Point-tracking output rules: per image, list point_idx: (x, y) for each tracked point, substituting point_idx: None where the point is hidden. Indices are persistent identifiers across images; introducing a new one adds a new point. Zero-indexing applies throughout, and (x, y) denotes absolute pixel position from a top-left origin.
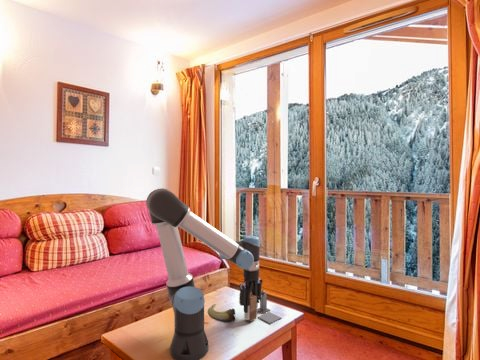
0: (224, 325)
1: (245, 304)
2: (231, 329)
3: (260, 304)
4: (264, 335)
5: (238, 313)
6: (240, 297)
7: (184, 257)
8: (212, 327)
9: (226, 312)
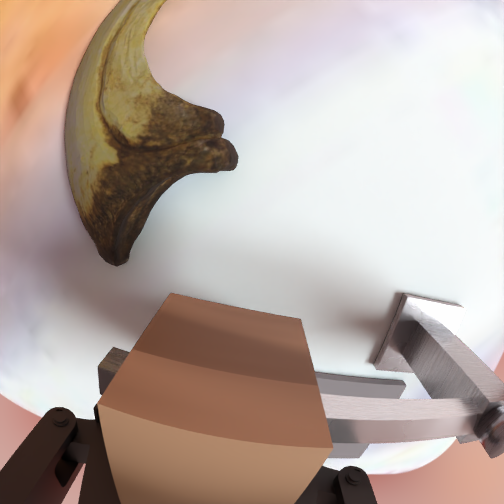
0: (50, 226)
1: (81, 461)
2: (52, 296)
3: (434, 348)
4: None
5: (268, 189)
6: (6, 467)
7: None
8: (4, 181)
9: (125, 139)
